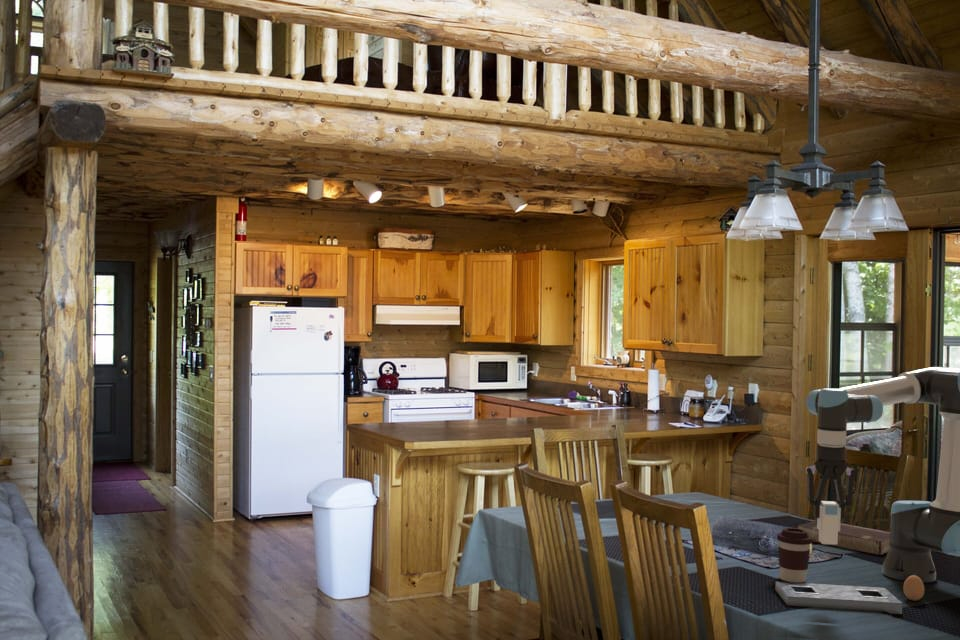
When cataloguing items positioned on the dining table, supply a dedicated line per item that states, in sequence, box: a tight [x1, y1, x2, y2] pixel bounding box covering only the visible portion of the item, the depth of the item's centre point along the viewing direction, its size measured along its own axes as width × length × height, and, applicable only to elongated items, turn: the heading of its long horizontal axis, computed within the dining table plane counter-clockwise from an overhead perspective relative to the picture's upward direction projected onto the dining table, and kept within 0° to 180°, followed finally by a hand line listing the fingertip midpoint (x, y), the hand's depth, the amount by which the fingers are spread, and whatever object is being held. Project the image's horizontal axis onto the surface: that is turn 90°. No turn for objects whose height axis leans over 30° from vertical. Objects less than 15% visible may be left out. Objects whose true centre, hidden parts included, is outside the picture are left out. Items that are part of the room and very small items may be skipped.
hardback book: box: [797, 519, 890, 556], centre depth 341 cm, size 29×19×5 cm, turn 47°
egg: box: [902, 575, 925, 602], centre depth 273 cm, size 5×5×7 cm
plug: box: [819, 500, 839, 546], centre depth 268 cm, size 4×5×11 cm
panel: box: [774, 581, 903, 615], centre depth 268 cm, size 30×14×3 cm, turn 86°
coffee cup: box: [776, 527, 813, 583], centre depth 288 cm, size 10×10×15 cm
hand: (828, 529), depth 268 cm, fingers closed on plug, 4 cm apart
